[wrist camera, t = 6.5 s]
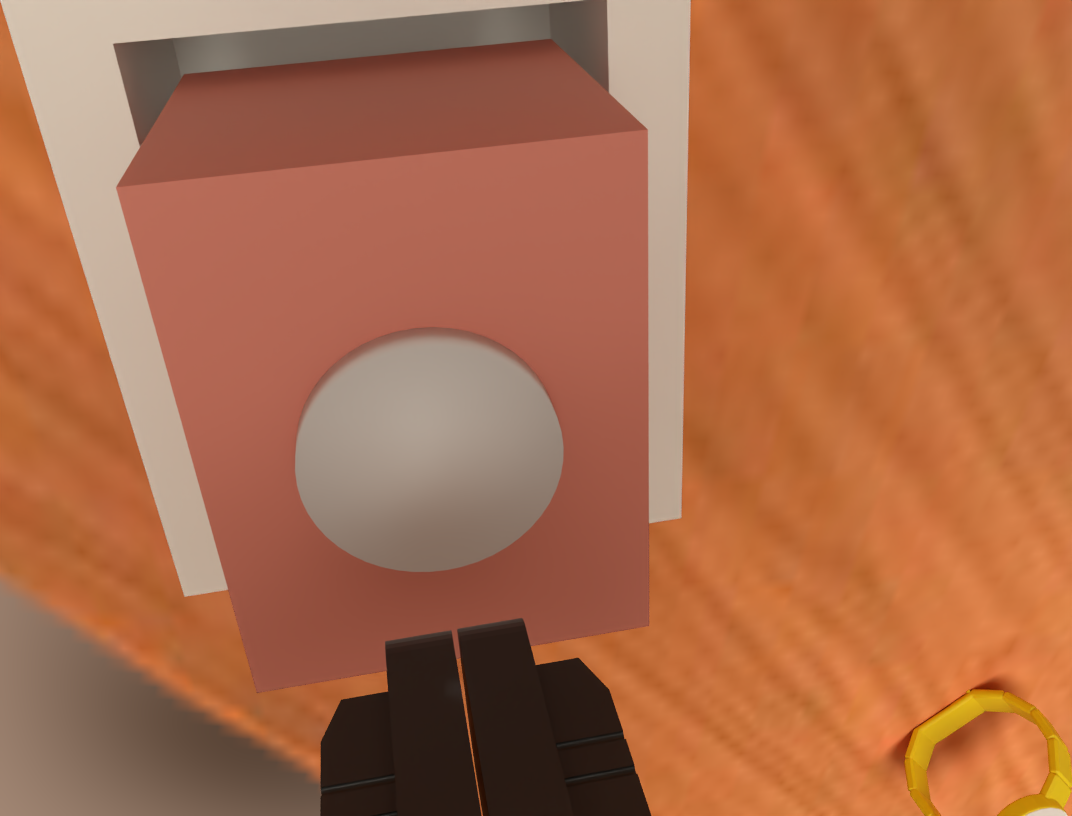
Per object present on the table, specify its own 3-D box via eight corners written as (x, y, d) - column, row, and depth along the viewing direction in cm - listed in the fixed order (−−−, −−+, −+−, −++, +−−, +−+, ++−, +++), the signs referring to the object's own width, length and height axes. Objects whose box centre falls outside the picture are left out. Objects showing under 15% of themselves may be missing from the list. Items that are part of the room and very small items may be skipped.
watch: (987, 655, 41) (1091, 765, 36) (1016, 687, 42) (1120, 798, 37) (872, 746, 42) (957, 867, 36) (903, 775, 43) (990, 895, 38)
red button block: (550, 38, 20) (660, 141, 13) (570, 429, 24) (658, 649, 18) (183, 73, 19) (107, 202, 12) (275, 472, 23) (254, 718, 17)
